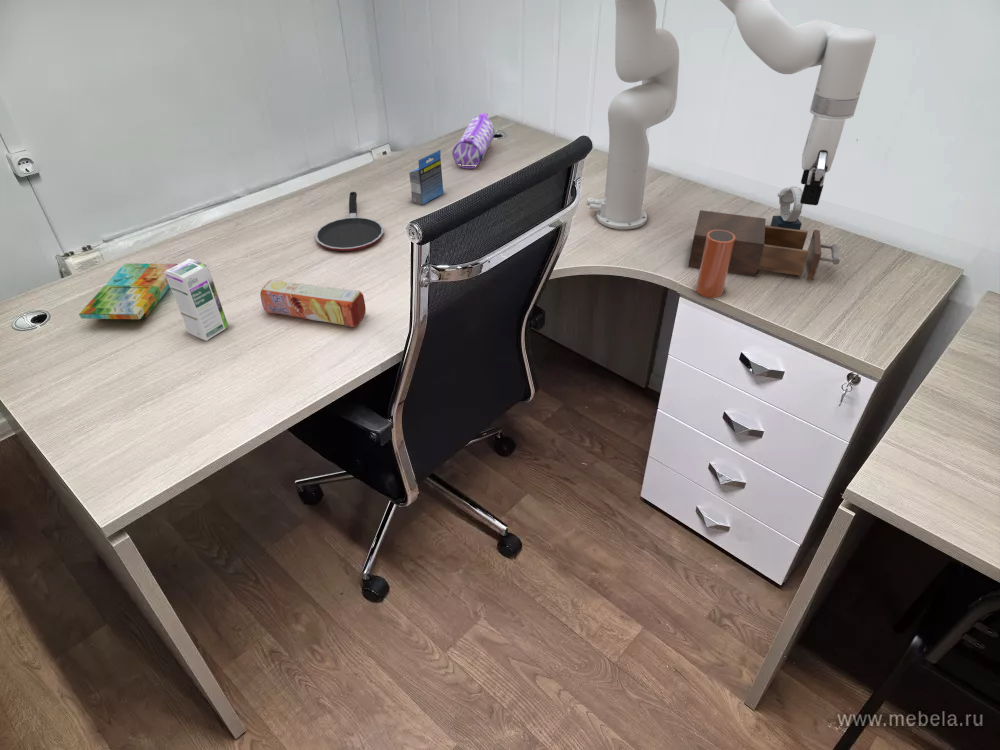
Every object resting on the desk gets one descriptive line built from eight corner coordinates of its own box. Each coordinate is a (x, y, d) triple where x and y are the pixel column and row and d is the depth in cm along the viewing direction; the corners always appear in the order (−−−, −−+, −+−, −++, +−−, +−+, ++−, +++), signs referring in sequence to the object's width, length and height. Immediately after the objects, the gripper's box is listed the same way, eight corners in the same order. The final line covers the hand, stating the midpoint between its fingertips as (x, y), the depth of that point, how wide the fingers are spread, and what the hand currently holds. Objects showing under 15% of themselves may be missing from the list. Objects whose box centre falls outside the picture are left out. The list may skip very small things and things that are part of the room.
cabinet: (757, 250, 158) (765, 218, 153) (755, 276, 149) (764, 244, 144) (693, 241, 162) (699, 210, 157) (688, 266, 153) (694, 234, 148)
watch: (789, 223, 168) (801, 181, 161) (800, 238, 162) (813, 195, 155) (767, 223, 168) (778, 181, 162) (777, 239, 162) (789, 195, 155)
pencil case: (482, 172, 196) (481, 139, 190) (451, 170, 197) (449, 137, 191) (495, 144, 212) (495, 113, 206) (466, 142, 214) (465, 112, 208)
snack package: (262, 316, 139) (254, 288, 135) (279, 299, 144) (272, 271, 140) (355, 332, 134) (350, 304, 130) (369, 314, 139) (365, 286, 135)
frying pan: (322, 204, 180) (319, 192, 178) (383, 200, 182) (382, 188, 180) (313, 256, 159) (311, 243, 156) (384, 250, 160) (382, 238, 158)
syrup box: (206, 342, 133) (183, 278, 123) (186, 333, 135) (162, 269, 126) (229, 327, 136) (208, 264, 127) (209, 319, 139) (188, 256, 130)
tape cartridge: (433, 190, 186) (429, 146, 178) (444, 193, 184) (441, 149, 176) (411, 202, 181) (407, 157, 173) (422, 205, 179) (418, 160, 171)
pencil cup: (694, 295, 144) (705, 240, 135) (697, 282, 148) (708, 227, 139) (721, 299, 142) (734, 244, 134) (723, 286, 146) (736, 231, 138)
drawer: (832, 258, 153) (840, 232, 149) (834, 283, 145) (843, 257, 141) (750, 246, 158) (756, 222, 154) (748, 270, 149) (754, 245, 145)
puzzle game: (176, 260, 148) (135, 310, 133) (183, 278, 151) (143, 330, 136) (124, 259, 149) (76, 310, 133) (132, 278, 152) (86, 329, 136)
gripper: (811, 89, 130) (789, 175, 141) (811, 117, 118) (787, 209, 128) (854, 92, 128) (828, 179, 139) (858, 121, 115) (830, 214, 126)
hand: (808, 193), depth 134 cm, fingers open, 9 cm apart
